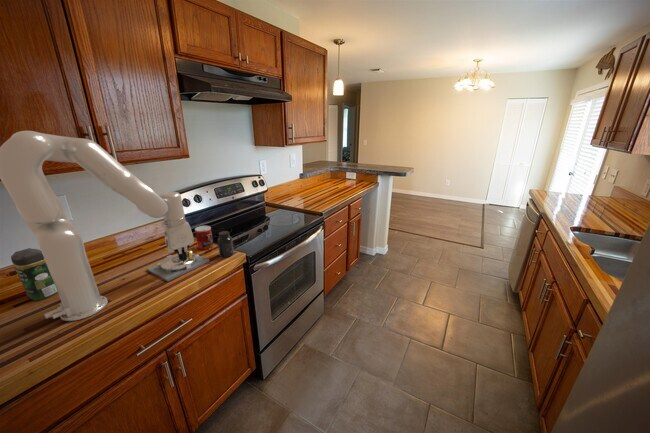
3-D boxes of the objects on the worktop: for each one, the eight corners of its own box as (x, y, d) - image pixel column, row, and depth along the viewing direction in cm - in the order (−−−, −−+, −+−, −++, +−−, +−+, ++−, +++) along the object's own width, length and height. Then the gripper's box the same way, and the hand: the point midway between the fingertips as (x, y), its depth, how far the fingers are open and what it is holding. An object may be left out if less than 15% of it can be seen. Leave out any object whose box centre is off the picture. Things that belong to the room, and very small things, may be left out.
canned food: (204, 251, 136) (201, 231, 132) (194, 248, 139) (191, 229, 136) (216, 246, 142) (214, 227, 138) (207, 243, 146) (204, 224, 142)
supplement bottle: (216, 256, 131) (213, 233, 127) (227, 250, 136) (224, 229, 133) (226, 259, 128) (223, 236, 124) (236, 253, 133) (234, 231, 130)
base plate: (167, 281, 109) (166, 278, 109) (146, 270, 118) (146, 267, 117) (209, 261, 125) (209, 258, 125) (189, 253, 134) (188, 250, 133)
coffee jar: (24, 296, 100) (4, 252, 94) (51, 286, 107) (35, 244, 101) (35, 303, 96) (15, 258, 90) (63, 292, 103) (46, 249, 97)
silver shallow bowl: (151, 272, 114) (148, 259, 112) (173, 255, 129) (170, 243, 127) (185, 273, 113) (182, 259, 111) (202, 255, 129) (200, 244, 126)
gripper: (161, 228, 103) (170, 269, 109) (197, 218, 115) (204, 255, 120) (152, 225, 107) (161, 264, 113) (188, 215, 119) (195, 251, 125)
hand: (183, 260), depth 117 cm, fingers closed
